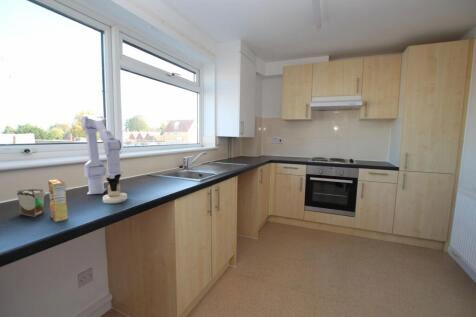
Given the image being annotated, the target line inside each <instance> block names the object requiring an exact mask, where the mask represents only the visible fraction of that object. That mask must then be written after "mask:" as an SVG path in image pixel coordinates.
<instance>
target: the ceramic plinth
mask: <svg viewBox="0 0 476 317" xmlns="http://www.w3.org/2000/svg"><path fill="white" fill-rule="evenodd" d="M126 201H128V194H127V193H126V192H120V195H118V196H108V193H107V194H105V195H103V196H102V202H103V203H104V204H110V205H111V204H120V203H123V202H126Z"/></svg>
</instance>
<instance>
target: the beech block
mask: <svg viewBox="0 0 476 317" xmlns="http://www.w3.org/2000/svg"><path fill="white" fill-rule="evenodd" d="M120 193H121V183H119V184H117V190H116V191H111V188H110V185H109V184H108V185H107V194H108V196H118V195H120Z"/></svg>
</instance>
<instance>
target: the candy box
mask: <svg viewBox="0 0 476 317" xmlns="http://www.w3.org/2000/svg"><path fill="white" fill-rule="evenodd" d="M47 182H48V194H49V195H48V196H49V208H50V210H49V211H50V217H51V218H52V219H53V221H54V222H56V223H57V222H60V221H66V220H68V206H67V203H68V202H67V190H66V188H67V187H66V182H65V181H63V180H61V179H59V178H58V179H49V180H48V181H47Z"/></svg>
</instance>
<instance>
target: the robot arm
mask: <svg viewBox="0 0 476 317" xmlns="http://www.w3.org/2000/svg"><path fill="white" fill-rule="evenodd" d="M80 122H81V128H82V131H84V132H85V136H86V144H87V153H88V161H87V162H86V163H84V166H83V175H84V177H85V178H87V182H88V192H87V193H86V195H96V194H98V195H99V194H104V192H106V191H107V188H105V186H104V184H105V183H104V182H105V181H104V177H105V176H106V175H108V177H106V181H107V183H108V185H110V188H111V191H116V190H117V184H120V178H121V177H122V174H123V171H121V163H120V162H121V161H120V160H121V158H120V151H121V150H122V142H121V140H120V139H117V138H115V136H114V134H113V133H112V131H110V130H107V128H106V126H105V124H106V123H105V122H106V120H105V118H104V116H103V115H92V114H91V115H90V114H83V115H82V116H81V119H80ZM97 133H99V135H98V136H99V138H100V139H101V141H102V143H103V149H104V153H105V155H106V165H105V162H103V161H101V159H100V156H99V153H100V152H99V146H98V145H99V144H98V136H97Z"/></svg>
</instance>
